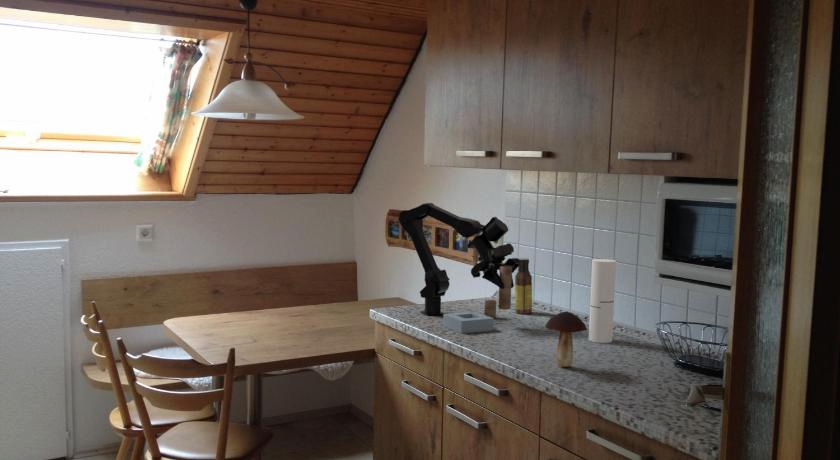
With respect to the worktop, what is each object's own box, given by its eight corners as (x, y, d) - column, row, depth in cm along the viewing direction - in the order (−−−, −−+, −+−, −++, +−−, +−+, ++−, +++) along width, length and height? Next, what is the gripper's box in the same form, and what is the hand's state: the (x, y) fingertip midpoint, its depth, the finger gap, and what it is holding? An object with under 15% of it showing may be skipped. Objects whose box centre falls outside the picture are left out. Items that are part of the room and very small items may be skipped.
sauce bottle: (531, 311, 280) (533, 257, 278) (532, 314, 274) (534, 260, 272) (513, 310, 280) (515, 257, 279) (514, 314, 274) (515, 259, 272)
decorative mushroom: (567, 360, 211) (569, 306, 210) (594, 369, 202) (596, 314, 200) (535, 364, 206) (537, 309, 205) (561, 374, 196) (563, 317, 195)
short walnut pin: (482, 316, 268) (482, 300, 267) (491, 316, 270) (492, 299, 269) (488, 319, 264) (488, 302, 264) (497, 318, 266) (498, 301, 266)
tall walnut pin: (496, 307, 252) (497, 265, 251) (506, 306, 254) (507, 265, 253) (502, 309, 249) (504, 267, 247) (512, 308, 250) (514, 266, 249)
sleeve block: (443, 325, 252) (443, 313, 251) (474, 323, 257) (474, 311, 257) (461, 333, 241) (461, 321, 241) (493, 330, 247) (493, 318, 246)
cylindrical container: (612, 343, 232) (616, 262, 230) (588, 342, 233) (592, 261, 231) (611, 338, 239) (615, 259, 237) (588, 336, 240) (591, 258, 238)
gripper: (477, 236, 246) (500, 274, 239) (518, 234, 258) (541, 270, 250) (460, 258, 253) (482, 295, 246) (500, 254, 265) (522, 290, 257)
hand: (508, 287), depth 250 cm, fingers closed on tall walnut pin, 4 cm apart
